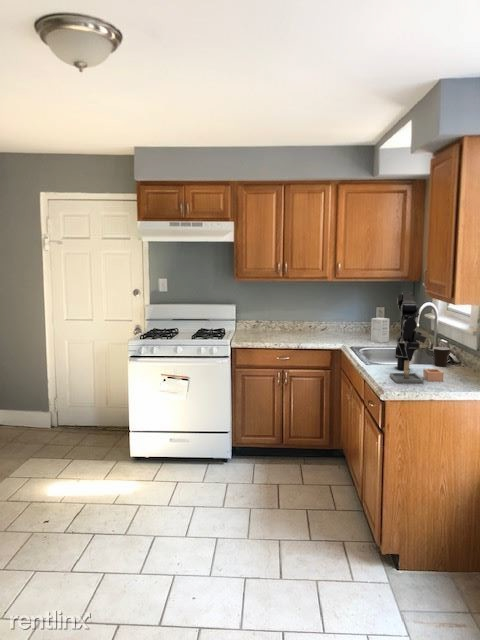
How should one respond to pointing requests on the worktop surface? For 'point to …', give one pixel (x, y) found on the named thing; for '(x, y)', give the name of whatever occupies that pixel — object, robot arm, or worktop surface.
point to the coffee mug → (441, 356)
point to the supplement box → (380, 330)
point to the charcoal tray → (400, 379)
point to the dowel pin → (406, 369)
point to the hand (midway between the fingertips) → (406, 358)
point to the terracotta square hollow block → (433, 374)
